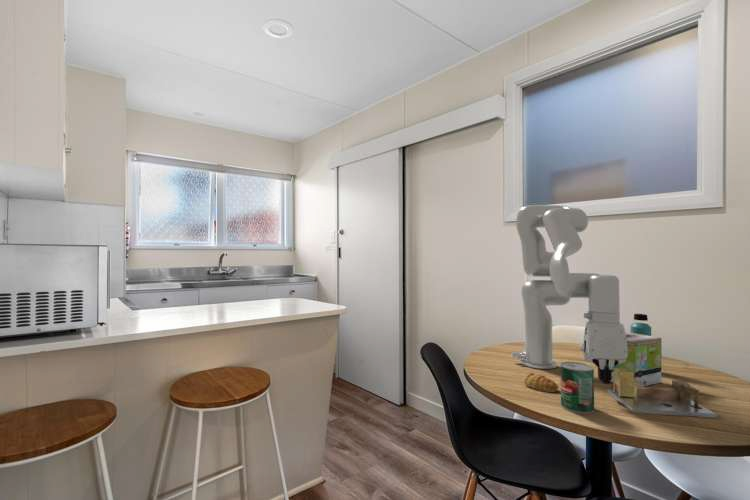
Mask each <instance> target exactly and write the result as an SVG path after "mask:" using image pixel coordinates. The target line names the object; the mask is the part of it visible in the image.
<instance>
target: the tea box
mask: <svg viewBox="0 0 750 500" xmlns="http://www.w3.org/2000/svg"><path fill="white" fill-rule="evenodd" d="M625 334H626V340H627V351H628V356H627V358H626V362H625V363H620V364H617V365H616V366H615V367H614V368H621V369H629V370H630V371H632V372H634V381H636V382H638V386H641V387H648V386H650V385H651V386H652V385H655V384H660V383H662V358H663V357H662V346H663V345H662V343H663V342H662V337H658V336H652V335H651V336H647V335H641V334H636V333H631V332H625ZM605 360H606V359H603V362H604V366H605ZM610 383H613V384H614V369H613V370H612V380H610Z"/></svg>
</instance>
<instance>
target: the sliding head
mask: <svg viewBox="0 0 750 500" xmlns="http://www.w3.org/2000/svg"><path fill="white" fill-rule="evenodd" d="M616 385H617V386H619V396H626V397H633V402H636V403H637V387H638V382H636V381H634V372H632V371H630V370H629V369H621V368H614V383H613V390H614V392H616Z"/></svg>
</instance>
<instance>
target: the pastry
mask: <svg viewBox="0 0 750 500" xmlns="http://www.w3.org/2000/svg"><path fill="white" fill-rule="evenodd" d="M523 384H525V385H526V386H527V387H528V388H529V387H530V388H532V389H533V390H538V391H541V392H544V393H545V392H546V393H549V392H550V393H555V392H557V391H558V389H559V386H558V384H557V383H556V382H555V381H554V380H551V379H550V378H548V377H547V376H546V375H542V374H535V373H534V372H530V373H528V374H527V375H525V378H524V383H523Z"/></svg>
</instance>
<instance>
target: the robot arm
mask: <svg viewBox="0 0 750 500" xmlns="http://www.w3.org/2000/svg"><path fill="white" fill-rule="evenodd" d="M588 218H589V217H588V215H587V214H586V212H585V211H584V210H583V209H580V208H576V207H572V206H571V207H570V206H566V205H565V206H564V205H554V204H553V205H550V204H530V205H524V206H522V207H521V208H520V209H519V210H518V212H517V215H516V220H515V221H516V223H515V224H516V231H517V233H518V237H519V239H520V244H521V254H522V264H523V265H522V266H523V270H524V273H525V274H526V275H527V276H529V277H539V278H540V277H543V278H545V277H547V278H548V277H549V278H550V279H536V280H535V279H533V280H528V281H526V282H525V283H524V284H523V285H522V287H521V297H522V302H523V311H524V349H522V351H520V352H516V351H514V352H513V351H512V352H511V358H516V359H519V360H520V364H521V365H523V366H525V367H529V368H533V369H540V370H552V369H555V368H557V367H558V363H557V361H555V360H553V317H552V315H551V312H550V311H549V310H548V308H547V307H548V306H564V305H567V304H569V302H570V301H571V299H572V298H573V299H575V298H577V299H579V298H580V299H581V298H583V299H584V298H585V299H587V298H588V311H587V312H586V313H583V318H584V319H587V320H588V321H586V323H585V327H584V333H583V334H584V335H583V342H584V343H583V342H582V344H583V349H584V353H585V354H584V355H583V360H584V361H586V362H589V363H593V364H594V365H595V366H596V367H597V379H598V380H599V382H601V383H602V384H604V385H605V384H607V385H611V382H610V380H612V370H613V369H614V367H615V366H616V365H617V364H620V363H625V362H626V358H627V356H628V351H627V340H626V334H625V333H626V330H625V326H624V324H623V323H621V319H620V318H621V317H620V315H621V314H620V313H621V312H620V280H619V277H618V276H616V275H612V274H599V273H594V272H593V273H591V272H589V273H587V272H585V273H584V272H575V273H574V272H570V270H569V269H570V267H569V263H568V261H567V257H568V258H569V257H570V256H573V255H575V254H576V253H578V252H579V251H580V250H581V249H582V246H583V241H582V239H581V238H580V236H579V233H582V232H584V231H585V230H586V229H587V228H588V224H589V219H588ZM537 228H542V229H543V228H544V230H545V231H546V233H547V235H548V238H549V240H550V242H551V245H552V249H553V250H554V251H547V248H546V241H545V240H546V239H545V238H544V236H543V235H542V233H541V232H540V231H539V230H538V229H537ZM604 359H606V360H605V366H604Z"/></svg>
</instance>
